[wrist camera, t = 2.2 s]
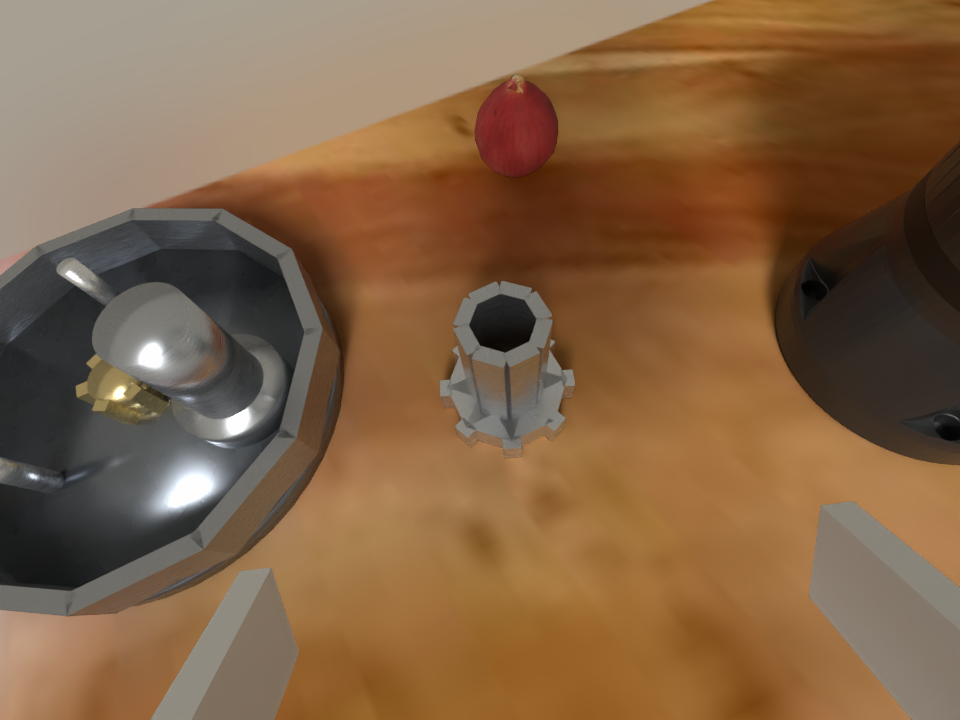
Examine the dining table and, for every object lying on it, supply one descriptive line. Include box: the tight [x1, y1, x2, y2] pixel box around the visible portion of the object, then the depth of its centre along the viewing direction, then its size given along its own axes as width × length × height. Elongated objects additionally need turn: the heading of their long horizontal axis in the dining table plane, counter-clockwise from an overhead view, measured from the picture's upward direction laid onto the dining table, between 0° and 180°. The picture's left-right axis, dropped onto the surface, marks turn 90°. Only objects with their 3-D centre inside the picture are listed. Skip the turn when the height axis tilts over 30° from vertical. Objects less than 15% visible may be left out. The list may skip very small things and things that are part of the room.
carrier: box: [0, 208, 343, 616], centre depth 27 cm, size 24×24×10 cm
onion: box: [475, 74, 558, 177], centre depth 34 cm, size 6×6×8 cm
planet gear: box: [440, 281, 575, 458], centre depth 26 cm, size 8×8×9 cm
